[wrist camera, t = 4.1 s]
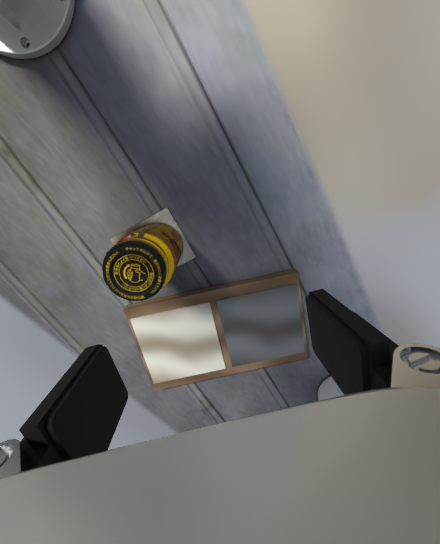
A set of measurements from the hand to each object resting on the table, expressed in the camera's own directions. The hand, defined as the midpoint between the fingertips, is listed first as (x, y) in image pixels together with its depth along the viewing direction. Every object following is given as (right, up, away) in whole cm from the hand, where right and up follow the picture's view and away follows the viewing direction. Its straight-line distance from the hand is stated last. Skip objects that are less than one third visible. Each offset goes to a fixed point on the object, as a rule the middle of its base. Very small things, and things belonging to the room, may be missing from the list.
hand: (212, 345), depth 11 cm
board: (0, -5, +24) cm, 25 cm away
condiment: (-8, +7, +20) cm, 23 cm away
